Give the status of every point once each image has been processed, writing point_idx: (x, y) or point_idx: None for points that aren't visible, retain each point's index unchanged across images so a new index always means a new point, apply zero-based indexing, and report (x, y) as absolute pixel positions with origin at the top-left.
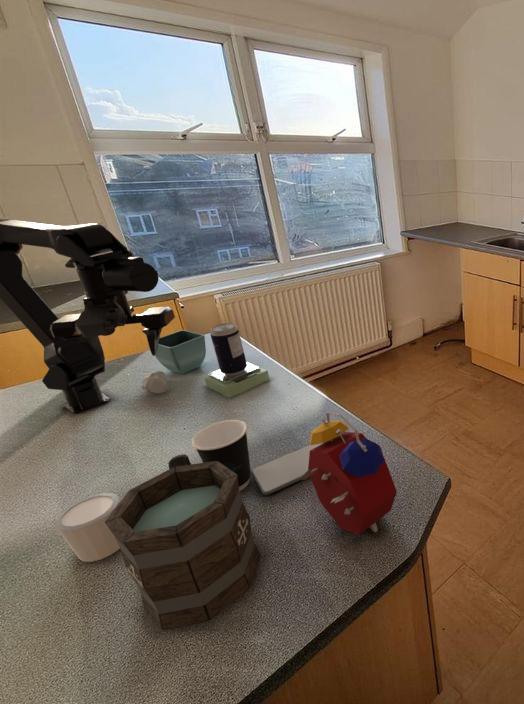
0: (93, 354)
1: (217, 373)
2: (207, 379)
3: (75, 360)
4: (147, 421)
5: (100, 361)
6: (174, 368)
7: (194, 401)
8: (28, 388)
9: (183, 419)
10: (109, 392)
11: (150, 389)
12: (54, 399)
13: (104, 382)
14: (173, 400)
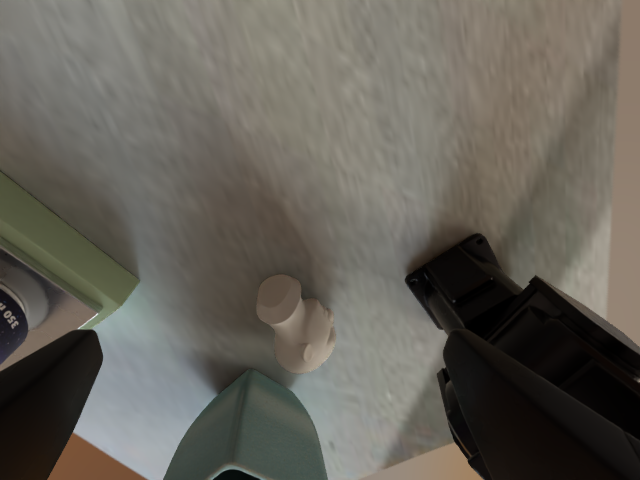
0: (537, 379)
1: (55, 305)
2: (101, 287)
3: (581, 388)
4: (256, 92)
5: (463, 329)
6: (264, 386)
7: (137, 188)
8: None
9: (113, 45)
10: (415, 323)
11: (294, 282)
12: None
13: (434, 372)
14: (219, 221)
